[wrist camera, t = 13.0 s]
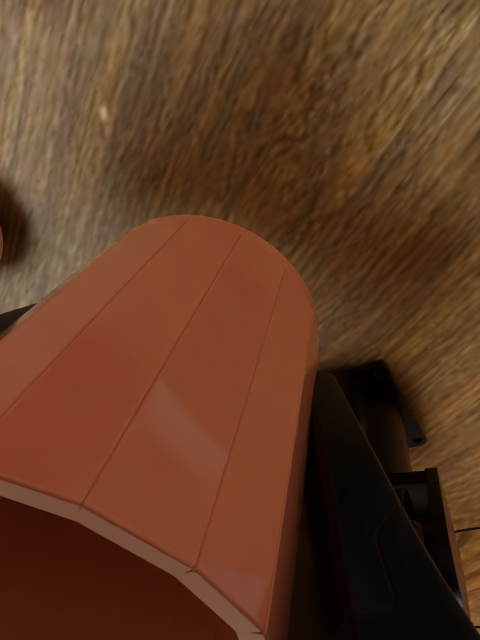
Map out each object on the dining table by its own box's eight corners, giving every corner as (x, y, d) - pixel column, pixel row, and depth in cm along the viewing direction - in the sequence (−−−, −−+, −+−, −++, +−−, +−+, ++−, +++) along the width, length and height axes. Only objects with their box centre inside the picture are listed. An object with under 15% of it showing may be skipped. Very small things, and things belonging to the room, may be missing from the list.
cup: (360, 371, 10) (370, 731, 5) (185, 429, 13) (66, 703, 7) (230, 161, 8) (-6, 381, 3) (53, 281, 11) (-240, 513, 5)
